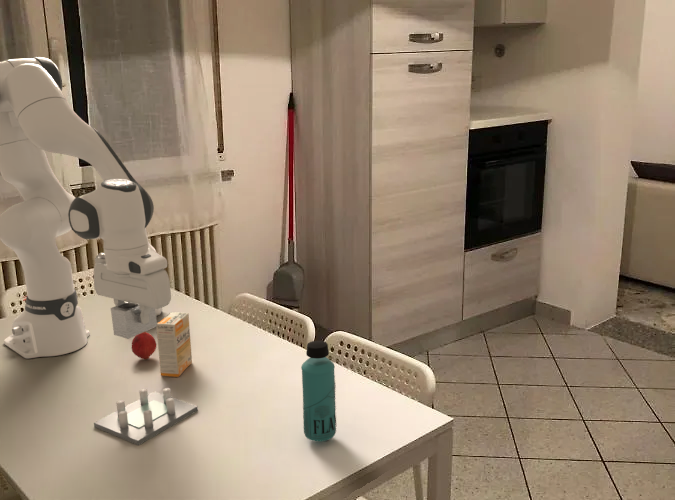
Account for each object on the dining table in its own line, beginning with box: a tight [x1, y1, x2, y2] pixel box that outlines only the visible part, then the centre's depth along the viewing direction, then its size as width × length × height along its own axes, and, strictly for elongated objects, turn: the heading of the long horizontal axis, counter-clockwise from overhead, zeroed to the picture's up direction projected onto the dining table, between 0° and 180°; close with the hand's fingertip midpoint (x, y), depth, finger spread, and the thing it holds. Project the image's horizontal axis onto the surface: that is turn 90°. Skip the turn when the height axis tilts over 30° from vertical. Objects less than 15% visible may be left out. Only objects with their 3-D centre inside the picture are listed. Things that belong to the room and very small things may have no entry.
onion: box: [131, 331, 157, 360], centre depth 172 cm, size 6×6×8 cm
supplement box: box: [155, 311, 193, 378], centre depth 165 cm, size 8×5×13 cm, turn 168°
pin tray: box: [93, 387, 198, 446], centre depth 144 cm, size 13×16×4 cm
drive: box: [110, 301, 158, 340], centre depth 150 cm, size 4×8×6 cm, turn 147°
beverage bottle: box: [300, 340, 338, 442], centre depth 133 cm, size 6×7×20 cm
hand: (134, 320), depth 150 cm, fingers closed on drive, 4 cm apart
